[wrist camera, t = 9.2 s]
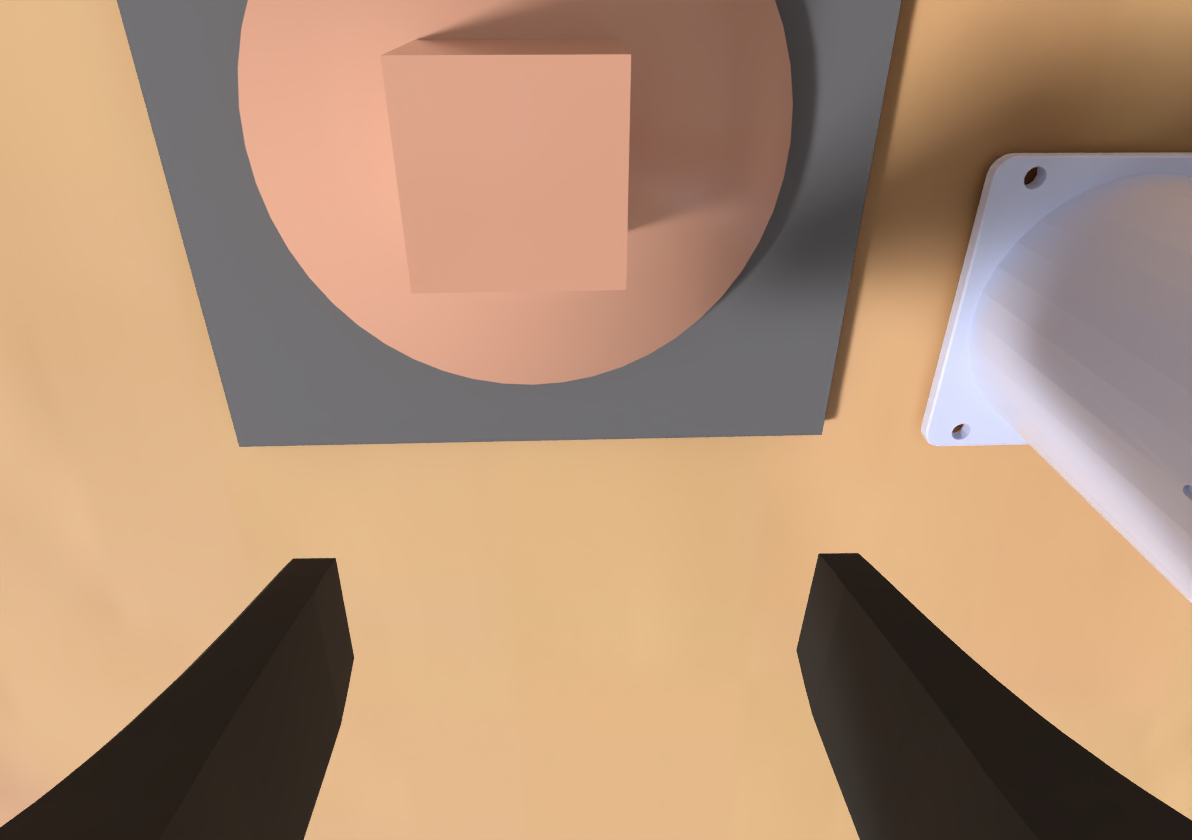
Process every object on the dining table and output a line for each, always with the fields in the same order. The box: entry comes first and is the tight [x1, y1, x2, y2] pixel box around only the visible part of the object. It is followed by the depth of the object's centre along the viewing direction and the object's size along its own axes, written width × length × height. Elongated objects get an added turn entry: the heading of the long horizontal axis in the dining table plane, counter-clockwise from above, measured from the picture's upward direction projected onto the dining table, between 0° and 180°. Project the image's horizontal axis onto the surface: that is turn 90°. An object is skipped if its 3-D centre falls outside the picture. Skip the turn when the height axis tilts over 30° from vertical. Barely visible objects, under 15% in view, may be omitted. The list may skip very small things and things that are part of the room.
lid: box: [238, 0, 793, 385], centre depth 15 cm, size 12×12×4 cm
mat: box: [117, 0, 901, 447], centre depth 17 cm, size 16×15×1 cm
